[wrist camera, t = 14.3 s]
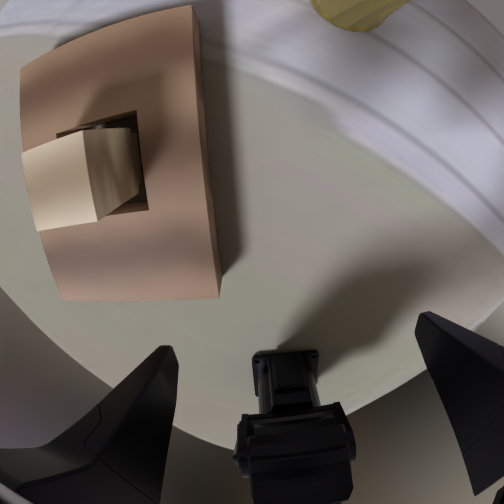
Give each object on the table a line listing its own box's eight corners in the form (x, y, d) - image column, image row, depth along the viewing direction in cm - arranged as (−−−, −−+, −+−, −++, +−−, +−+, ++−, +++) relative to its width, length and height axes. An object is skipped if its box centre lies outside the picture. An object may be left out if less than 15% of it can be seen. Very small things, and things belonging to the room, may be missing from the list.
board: (222, 277, 22) (219, 298, 20) (77, 283, 23) (62, 300, 20) (198, 20, 14) (191, 4, 11) (41, 71, 14) (20, 68, 12)
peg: (148, 186, 19) (97, 221, 12) (98, 195, 19) (36, 231, 12) (140, 127, 17) (82, 130, 10) (89, 140, 18) (21, 153, 10)
